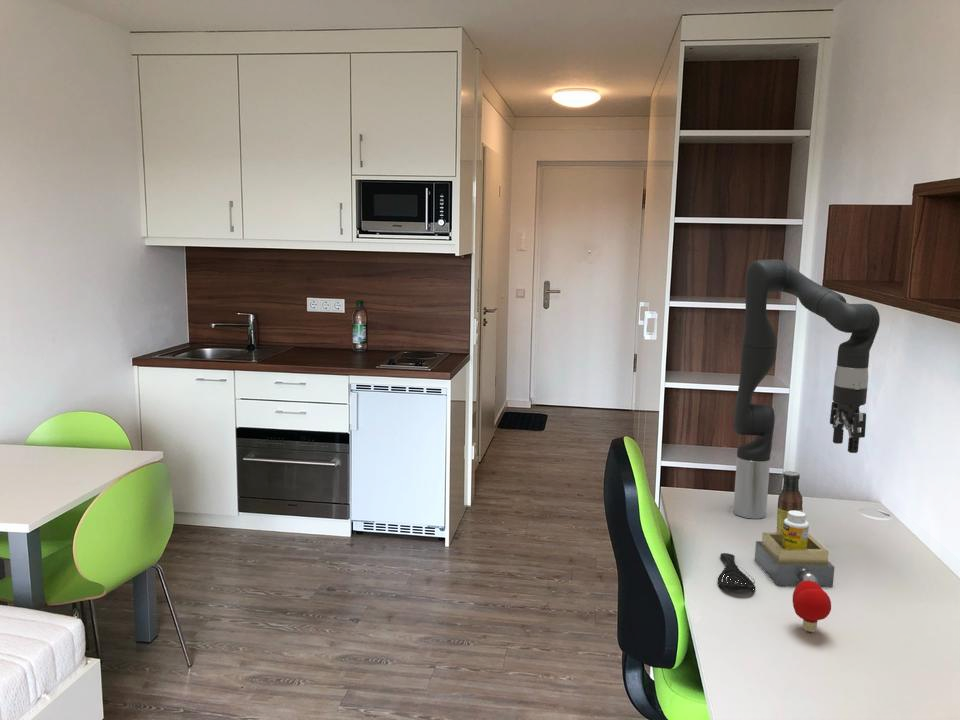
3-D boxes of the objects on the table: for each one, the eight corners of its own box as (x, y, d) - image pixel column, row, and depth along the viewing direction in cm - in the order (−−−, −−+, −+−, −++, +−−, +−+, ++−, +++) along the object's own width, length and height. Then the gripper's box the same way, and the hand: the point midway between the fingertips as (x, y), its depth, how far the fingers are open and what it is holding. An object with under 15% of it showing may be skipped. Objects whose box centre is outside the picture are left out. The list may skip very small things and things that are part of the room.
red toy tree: (783, 620, 161) (787, 575, 160) (817, 621, 161) (821, 576, 160) (800, 643, 152) (804, 595, 151) (836, 644, 152) (840, 596, 150)
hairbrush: (742, 546, 195) (760, 583, 170) (742, 560, 195) (759, 599, 171) (709, 544, 196) (721, 580, 172) (708, 558, 197) (720, 596, 172)
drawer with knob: (754, 560, 193) (756, 529, 192) (806, 560, 193) (808, 530, 191) (781, 591, 175) (784, 558, 174) (838, 592, 175) (841, 559, 174)
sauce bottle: (796, 541, 206) (802, 470, 203) (804, 550, 200) (810, 476, 197) (771, 540, 206) (777, 469, 204) (778, 548, 200) (783, 475, 197)
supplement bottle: (776, 551, 186) (779, 511, 184) (791, 547, 188) (794, 507, 187) (795, 559, 181) (799, 518, 179) (811, 555, 183) (814, 514, 182)
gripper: (823, 378, 196) (818, 440, 198) (848, 389, 182) (842, 455, 184) (852, 379, 195) (847, 440, 198) (880, 390, 181) (873, 456, 184)
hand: (844, 447), depth 191 cm, fingers open, 8 cm apart
